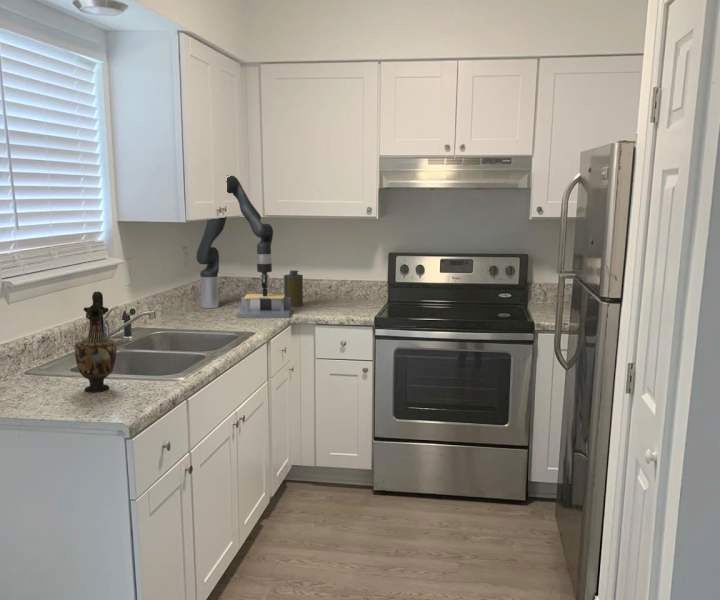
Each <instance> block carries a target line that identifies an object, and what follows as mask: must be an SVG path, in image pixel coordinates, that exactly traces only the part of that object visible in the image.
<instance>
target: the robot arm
mask: <svg viewBox="0 0 720 600" xmlns="http://www.w3.org/2000/svg"><path fill="white" fill-rule="evenodd" d="M226 182H227V192H228V193H230V194H232V193H233V194H232V195H233V196H234V198H236V200H237V201H238V204H239V209H240V213H241V214H242V216H243V217H244V218H245V220H246V221H247V222H248V223H249V226H250V228H251V231H252V233H253V234H254V235H255V237H258V238H260V241H259V242H258V243H257V244H256V271H257V273H261V275H260V284H261V288H262V294H263V296H267V294H268V287H269V278H270V277H269V274H268V273H271V272H272V271H273V267H272V266H273V263H272V262H273V261H272V259H273V258H272V249H271V248H272V247H271V245H272V242H273V237H274V230H273V226H272V225H271V224H269V223H263V222H262V221H261V219H262V216H261V214H260V213H259V211H258V210H257V209H256V207H255V206H254V205H253V203H252V202H251V201H250V199H249V197H248V195H247V193H246V192H245V190H244V187H243V185H242V184H241V182H240V181H239V179H238V177H236V176H235V175H231V176H230V177H228V178H227V181H226ZM226 221H227V216H226V217H225V218H219V219H211V220H208V219H207V221H206V224H205V229H204V231H203V236H202V238H201V240H200V243H199V246H198V249H197V251H196V262H198V264H199V265H206V267H205V268H204V269H202V270H201V271H200V295H201V296H200V303H201V308H203V309H216V308H219V279H218V278H219V277H218V274H219V268H220V254H219V251H218V249H217V248H216V247H214V246H212V245H213V243H214V242H215V240H216V239H217V238H219V237H218V236H220V235H221V233H222V231H224V228H225V226H226Z"/></svg>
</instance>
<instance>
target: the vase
mask: <svg viewBox="0 0 720 600" xmlns="http://www.w3.org/2000/svg"><path fill="white" fill-rule="evenodd" d="M91 298H92V305H90V306H88V307H87V306H85V307H84V308H83V311H84V312H85V318H86V319H87V320H89V328H88V334H87V337H86V338H85V339H82V340H80V341H78V342H77V343H76V344H75V348H74V355H75V363H76V366H77V370H78V371H79V373H80V375H82V377H84V378H85V379H86V380H87V381H89V385H88V386H86V387H84V392H86V393H102V392H106V391H108V390H109V389H110V385H108V384H105V383H104V381H105V379H106V378H107V377H109V376H110V375H111V373H112V371H113V370H114V367H115V365H116V360H117V352H118V351H117V343H116V342H115V341H114V340H112V339H111V338H107V337H106V334H105V330H104V329H105V327H104V324H105V323H104V315H106V313H108V312H109V308H108V307H104V295H103V293H102V292H101V291H94V292H93V293H92V297H91Z"/></svg>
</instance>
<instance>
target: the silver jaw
mask: <svg viewBox="0 0 720 600" xmlns="http://www.w3.org/2000/svg"><path fill="white" fill-rule="evenodd" d="M260 310H261V299H250V311H260Z"/></svg>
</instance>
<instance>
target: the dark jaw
mask: <svg viewBox="0 0 720 600" xmlns="http://www.w3.org/2000/svg"><path fill="white" fill-rule="evenodd" d="M271 303H272V311H276V310H281V299H271Z"/></svg>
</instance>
